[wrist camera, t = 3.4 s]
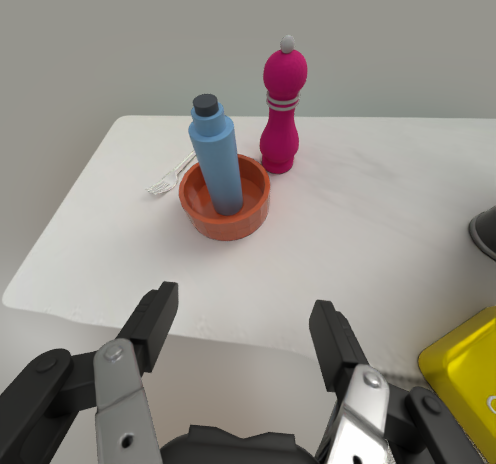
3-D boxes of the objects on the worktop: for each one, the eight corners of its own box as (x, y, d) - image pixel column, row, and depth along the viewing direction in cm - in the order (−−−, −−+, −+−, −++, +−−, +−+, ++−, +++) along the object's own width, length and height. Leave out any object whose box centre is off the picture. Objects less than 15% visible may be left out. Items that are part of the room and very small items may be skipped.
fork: (219, 138, 48) (217, 131, 46) (160, 201, 40) (156, 195, 38) (207, 134, 48) (205, 127, 47) (147, 195, 41) (143, 188, 39)
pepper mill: (265, 147, 45) (268, 21, 28) (298, 154, 44) (324, 25, 26) (255, 171, 42) (250, 46, 25) (290, 179, 40) (312, 51, 23)
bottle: (230, 187, 40) (210, 81, 24) (249, 203, 37) (240, 99, 22) (207, 202, 38) (169, 101, 22) (225, 221, 36) (198, 123, 20)
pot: (234, 164, 43) (231, 141, 38) (285, 206, 37) (289, 185, 33) (174, 204, 39) (162, 184, 34) (221, 257, 33) (214, 242, 29)
